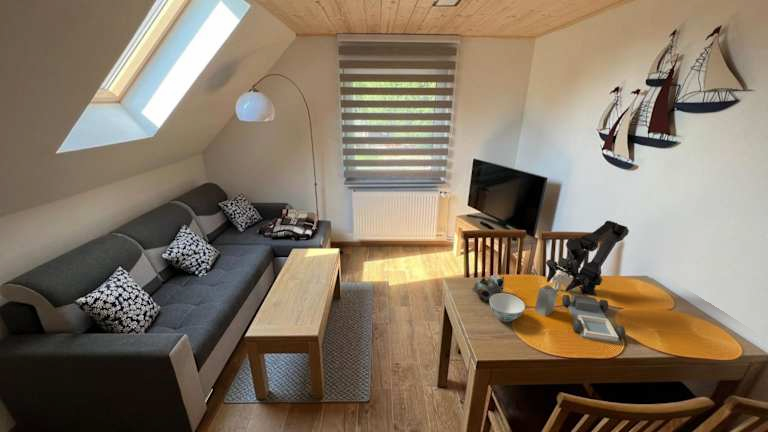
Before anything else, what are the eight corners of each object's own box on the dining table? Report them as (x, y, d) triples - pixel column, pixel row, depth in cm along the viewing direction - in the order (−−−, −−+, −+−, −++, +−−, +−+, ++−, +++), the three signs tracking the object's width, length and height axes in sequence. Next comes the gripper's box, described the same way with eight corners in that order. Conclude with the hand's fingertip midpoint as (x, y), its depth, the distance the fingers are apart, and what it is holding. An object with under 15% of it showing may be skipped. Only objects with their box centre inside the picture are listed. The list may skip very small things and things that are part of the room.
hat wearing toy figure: (563, 287, 173) (568, 267, 169) (567, 291, 169) (571, 270, 165) (546, 286, 173) (550, 266, 169) (549, 291, 170) (553, 270, 165)
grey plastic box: (543, 306, 157) (547, 285, 153) (552, 312, 153) (557, 290, 149) (534, 310, 154) (539, 288, 150) (544, 316, 150) (549, 294, 146)
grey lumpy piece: (476, 284, 175) (491, 264, 171) (495, 300, 170) (511, 279, 166) (468, 290, 162) (484, 268, 158) (488, 307, 157) (506, 285, 153)
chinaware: (527, 316, 150) (530, 302, 147) (514, 332, 140) (516, 317, 137) (496, 303, 160) (498, 289, 157) (481, 317, 150) (483, 303, 147)
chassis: (561, 300, 162) (563, 291, 161) (602, 305, 158) (604, 296, 156) (576, 336, 138) (578, 326, 136) (625, 344, 134) (628, 334, 132)
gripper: (551, 243, 157) (532, 269, 155) (591, 260, 141) (570, 289, 140) (559, 254, 163) (540, 279, 162) (597, 271, 148) (577, 299, 146)
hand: (556, 286), depth 152 cm, fingers open, 9 cm apart
